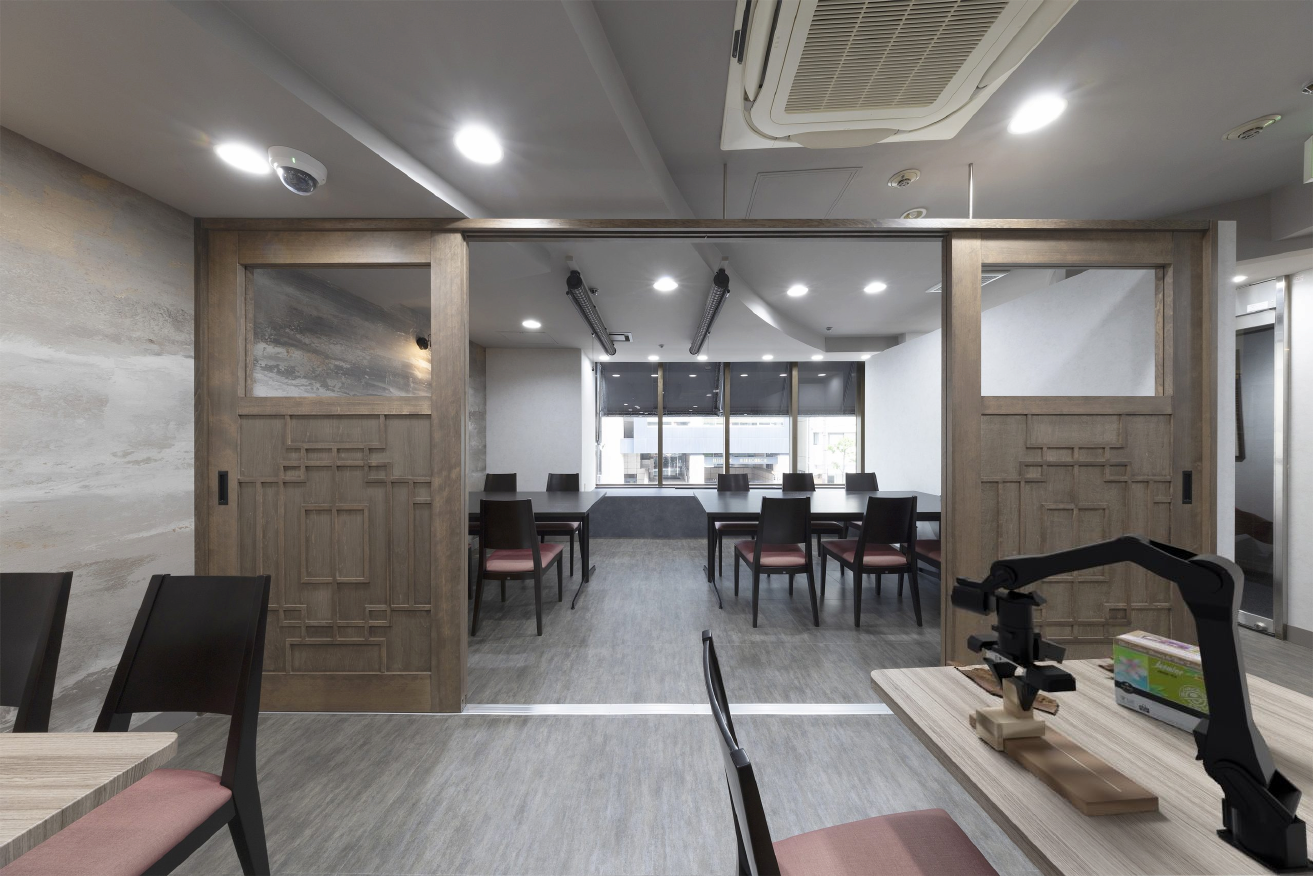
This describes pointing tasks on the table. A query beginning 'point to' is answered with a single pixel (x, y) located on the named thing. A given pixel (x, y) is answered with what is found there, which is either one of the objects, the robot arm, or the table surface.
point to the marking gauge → (1007, 719)
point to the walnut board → (1078, 774)
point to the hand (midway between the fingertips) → (1018, 705)
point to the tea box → (1160, 678)
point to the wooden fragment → (990, 683)
